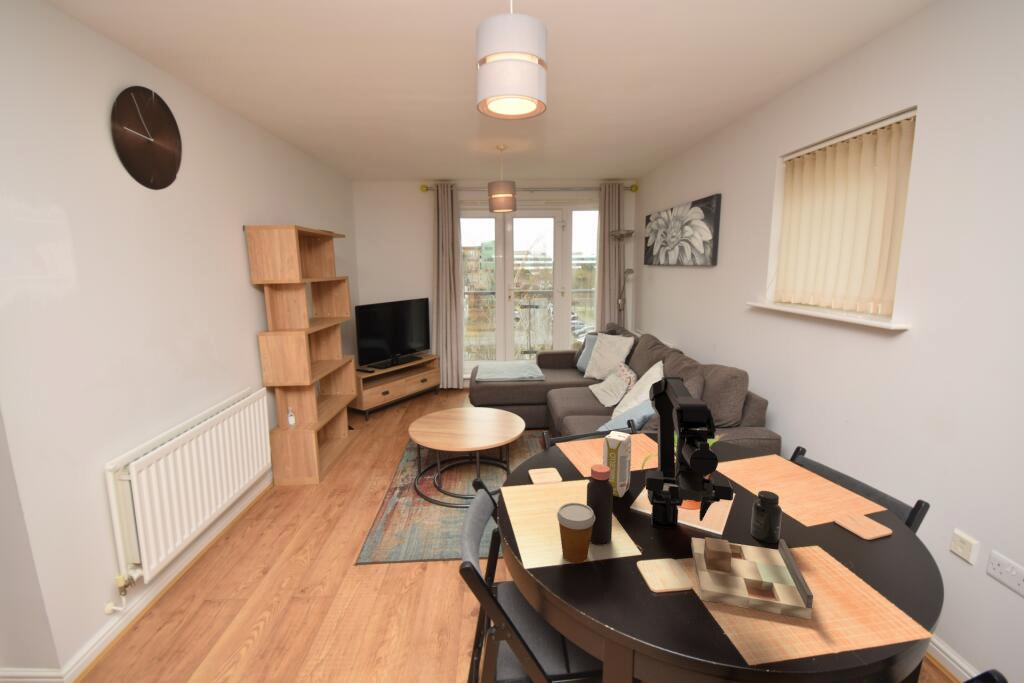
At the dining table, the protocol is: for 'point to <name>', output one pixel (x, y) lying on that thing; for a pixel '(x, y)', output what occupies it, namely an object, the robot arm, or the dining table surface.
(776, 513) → the supplement bottle
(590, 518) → the disposable coffee cup
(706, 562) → the walnut block
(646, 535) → the dining table surface
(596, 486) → the black water bottle
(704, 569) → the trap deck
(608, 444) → the juice carton
